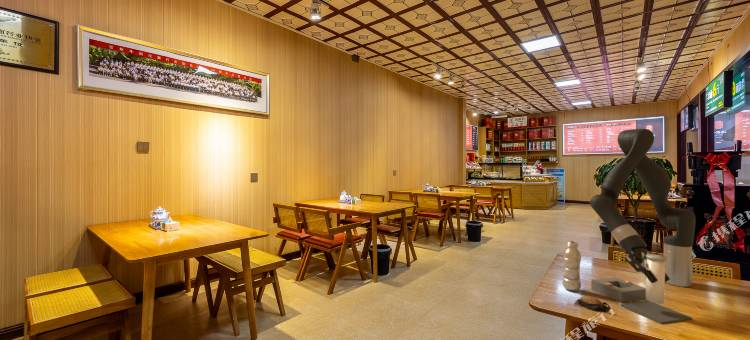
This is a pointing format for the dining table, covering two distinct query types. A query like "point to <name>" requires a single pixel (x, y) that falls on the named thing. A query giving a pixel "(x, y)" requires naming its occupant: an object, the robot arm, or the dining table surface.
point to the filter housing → (619, 289)
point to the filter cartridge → (658, 269)
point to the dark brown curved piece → (592, 304)
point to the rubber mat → (656, 312)
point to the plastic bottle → (572, 267)
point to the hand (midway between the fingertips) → (661, 281)
